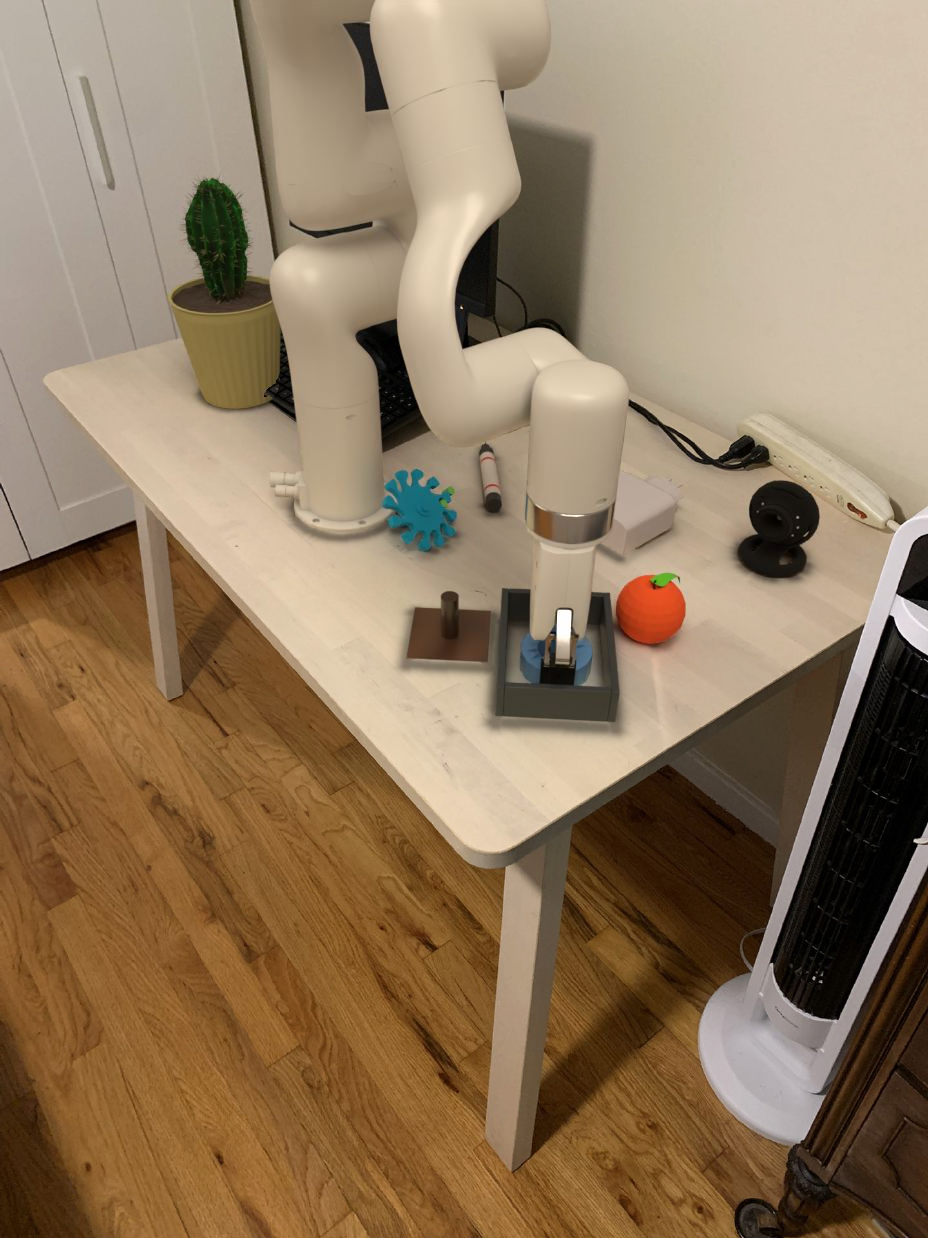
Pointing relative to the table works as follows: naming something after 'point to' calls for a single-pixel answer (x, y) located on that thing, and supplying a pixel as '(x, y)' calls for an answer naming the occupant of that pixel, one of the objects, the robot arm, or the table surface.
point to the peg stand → (449, 632)
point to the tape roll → (536, 648)
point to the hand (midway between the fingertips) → (555, 664)
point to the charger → (641, 511)
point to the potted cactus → (226, 305)
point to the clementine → (651, 608)
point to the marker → (490, 478)
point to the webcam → (779, 528)
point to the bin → (552, 697)
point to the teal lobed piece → (420, 509)
